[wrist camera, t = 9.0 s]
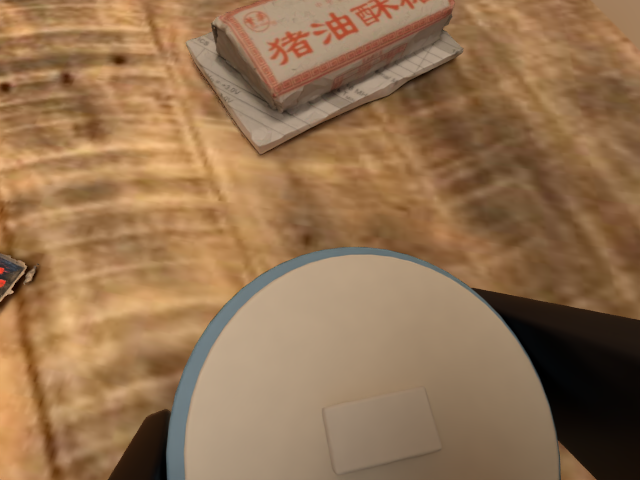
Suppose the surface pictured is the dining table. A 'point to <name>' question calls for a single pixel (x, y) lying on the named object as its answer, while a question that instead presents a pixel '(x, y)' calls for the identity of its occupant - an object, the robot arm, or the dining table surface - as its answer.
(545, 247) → the dining table surface
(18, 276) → the matchbox
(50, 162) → the dining table surface
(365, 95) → the packaged product
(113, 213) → the dining table surface
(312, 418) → the tissue tub
